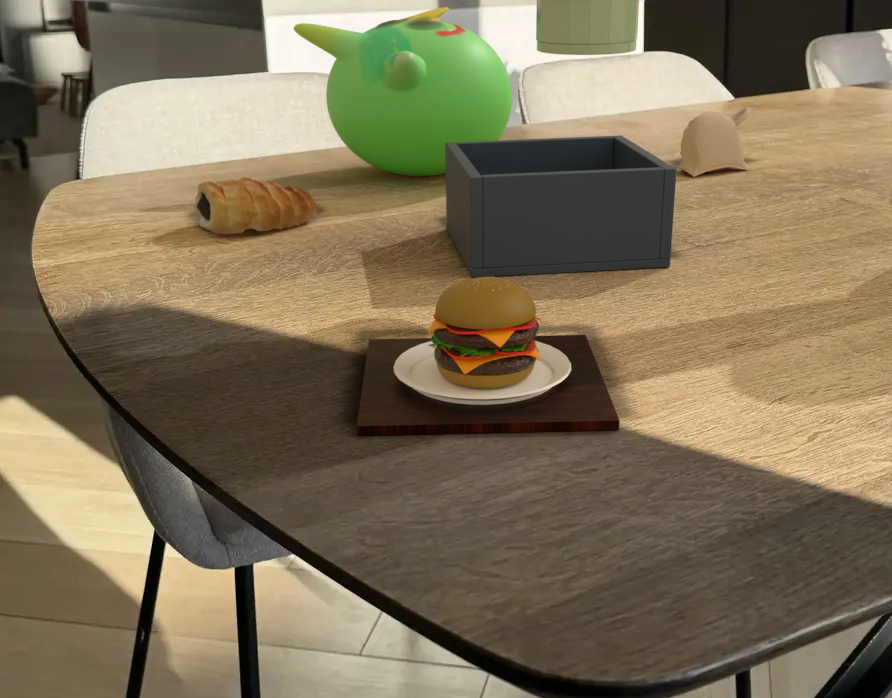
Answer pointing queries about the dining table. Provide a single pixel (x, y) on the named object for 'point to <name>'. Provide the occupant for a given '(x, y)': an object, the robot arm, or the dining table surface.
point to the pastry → (251, 206)
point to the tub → (586, 26)
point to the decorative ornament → (713, 143)
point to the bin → (558, 205)
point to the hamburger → (483, 372)
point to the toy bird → (412, 90)
